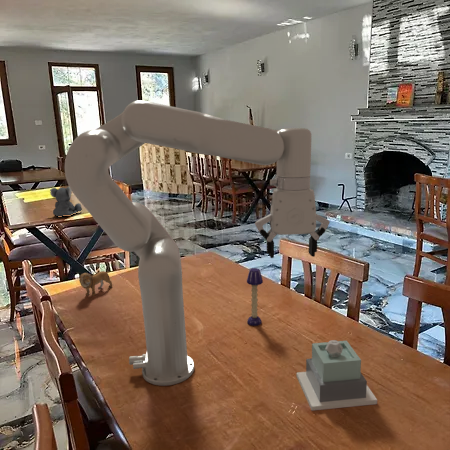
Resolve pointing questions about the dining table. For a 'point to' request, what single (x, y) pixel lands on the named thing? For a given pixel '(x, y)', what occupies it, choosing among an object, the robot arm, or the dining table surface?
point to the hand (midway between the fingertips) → (291, 255)
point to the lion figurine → (94, 281)
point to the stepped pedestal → (334, 379)
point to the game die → (334, 348)
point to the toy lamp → (254, 294)
